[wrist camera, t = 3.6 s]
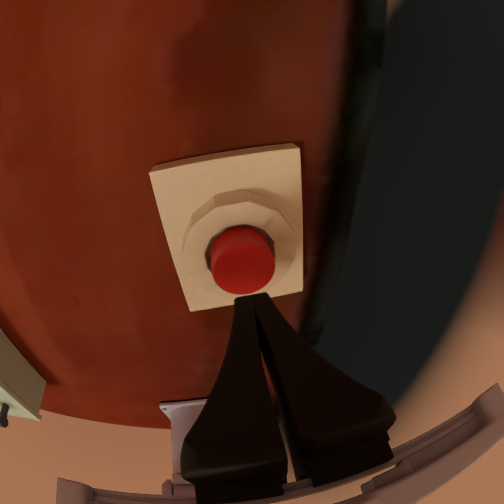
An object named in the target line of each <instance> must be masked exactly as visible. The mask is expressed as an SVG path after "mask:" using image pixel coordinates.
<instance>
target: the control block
mask: <svg viewBox="0 0 504 504" xmlns="http://www.w3.org/2000/svg"><path fill="white" fill-rule="evenodd" d="M149 175H150V179H151V183H152V187H153V191H154V195H155V199H156V202H157V206H158V210H159V214H160V217H161V221H162V224H163V228H164V231H165V235H166V238H167V241H168V245H169V248H170V251H171V255H172V258H173V261H174V264H175V268H176V271H177V274H178V277H179V280H180V283H181V286H182V289H183V292H184V295H185V298H186V301H187V304H188V306H189V309H190V311H191V312H192V311H198V310H204V309H210V308H216V307H222V306H228V305H233V304H234V299H235V298H236V297H241V296H246V295H252V294H257V293H262V292H266V293H268V294H269V296H270V297H276V296H281V295H286V294H290V293H295V292H300V291H303V213H302V181H301V158H300V148H299V147H297V146H296V145H295V144H293V143H287V144H278V145H269V146H261V147H253V148H246V149H239V150H232V151H226V152H220V153H214V154H208V155H203V156H197V157H192V158H187V159H182V160H177V161H172V162H167V163H163V164H158V165H154V166H153V167H152V169H151V171H150V172H149ZM235 227H248V228H252V229H255V230H257V231H258V232H260V233H261V234H262V235H263V236H264V237H265V238H266V240H267V242H268V245H269V247H270V250H271V252H272V255H273V257H274V260H275V272H274V275H273V277H272V279H271V280H270V282H269V283H268V284H267V285H266V286H265V287H263V288H262V289H260V290H258V291H256V292H254V293H250V294H245V295H237V294H232V293H228V292H226V291H224V290H222V289H221V288H220V287H219V286H218V285H217V284H216V282H215V281H214V279H213V276H212V267H211V248H212V245H213V243H214V241H215V240H216V238H217V237H218V236H219V235H221V234H222V233H223V232H225V231H227V230H229V229H232V228H235Z"/></svg>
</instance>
